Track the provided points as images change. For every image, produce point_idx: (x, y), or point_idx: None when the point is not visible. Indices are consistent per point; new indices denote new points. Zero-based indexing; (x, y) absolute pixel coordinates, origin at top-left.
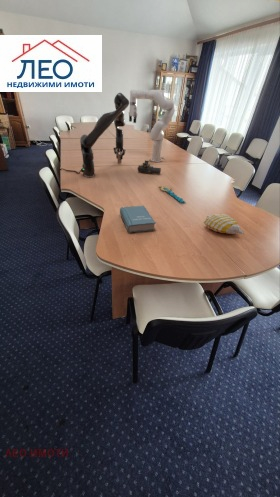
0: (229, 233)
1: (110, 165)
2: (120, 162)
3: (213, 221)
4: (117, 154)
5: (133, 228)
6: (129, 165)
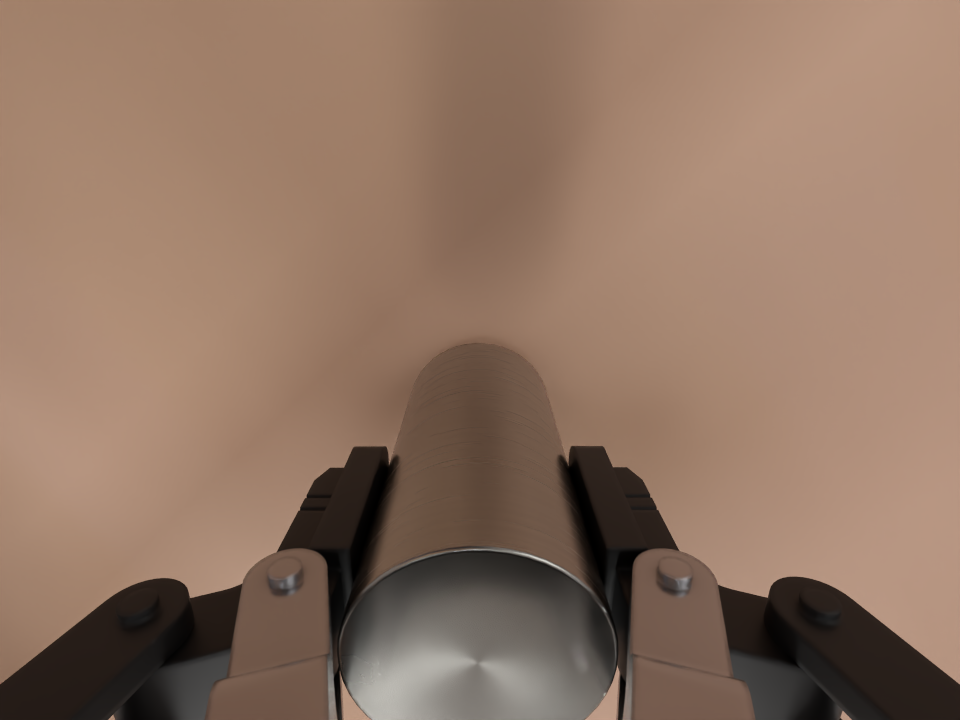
0: None
1: (656, 85)
2: (411, 397)
3: None
4: (582, 570)
5: None
6: (213, 502)
